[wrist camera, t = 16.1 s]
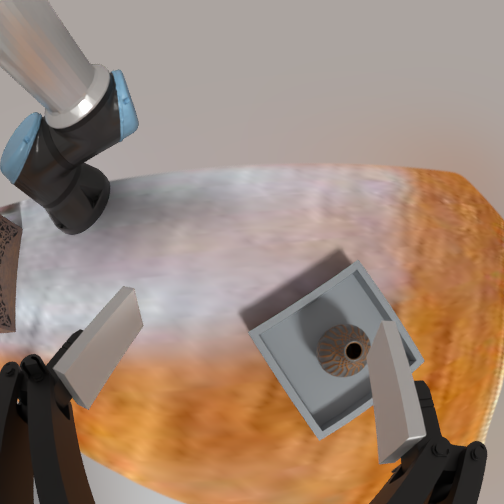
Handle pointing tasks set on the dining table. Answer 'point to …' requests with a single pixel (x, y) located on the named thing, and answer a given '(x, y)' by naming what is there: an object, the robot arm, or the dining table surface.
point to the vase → (343, 350)
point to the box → (306, 340)
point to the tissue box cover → (8, 272)
